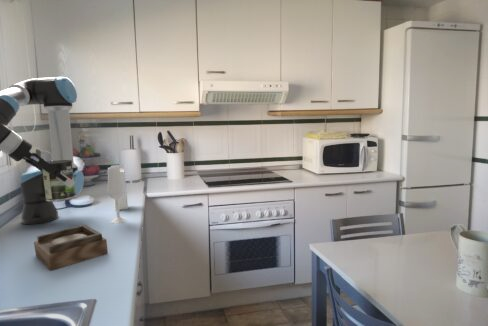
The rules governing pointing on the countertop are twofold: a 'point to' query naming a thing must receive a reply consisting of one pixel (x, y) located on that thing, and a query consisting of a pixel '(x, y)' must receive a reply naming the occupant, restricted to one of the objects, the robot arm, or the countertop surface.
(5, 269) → the countertop surface
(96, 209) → the countertop surface
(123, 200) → the milk
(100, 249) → the display stand
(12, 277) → the countertop surface
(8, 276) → the countertop surface
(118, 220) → the champagne flute
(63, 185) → the coffee can
